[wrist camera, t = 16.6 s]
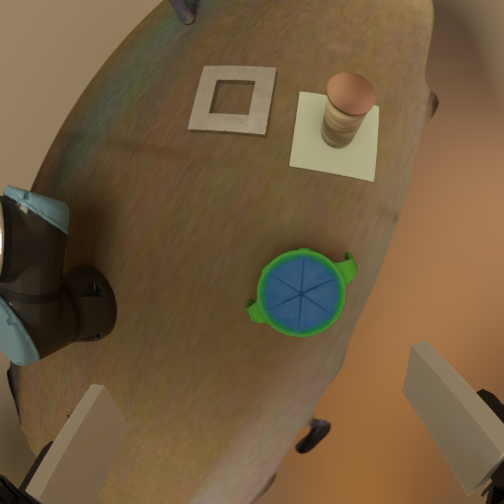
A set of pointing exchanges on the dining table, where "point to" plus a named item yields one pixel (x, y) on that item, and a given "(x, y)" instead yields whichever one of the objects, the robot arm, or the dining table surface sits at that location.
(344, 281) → the snack cup
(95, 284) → the robot arm
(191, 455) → the dining table surface
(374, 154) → the mat
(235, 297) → the dining table surface
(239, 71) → the socket
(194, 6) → the flask
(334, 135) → the plug
